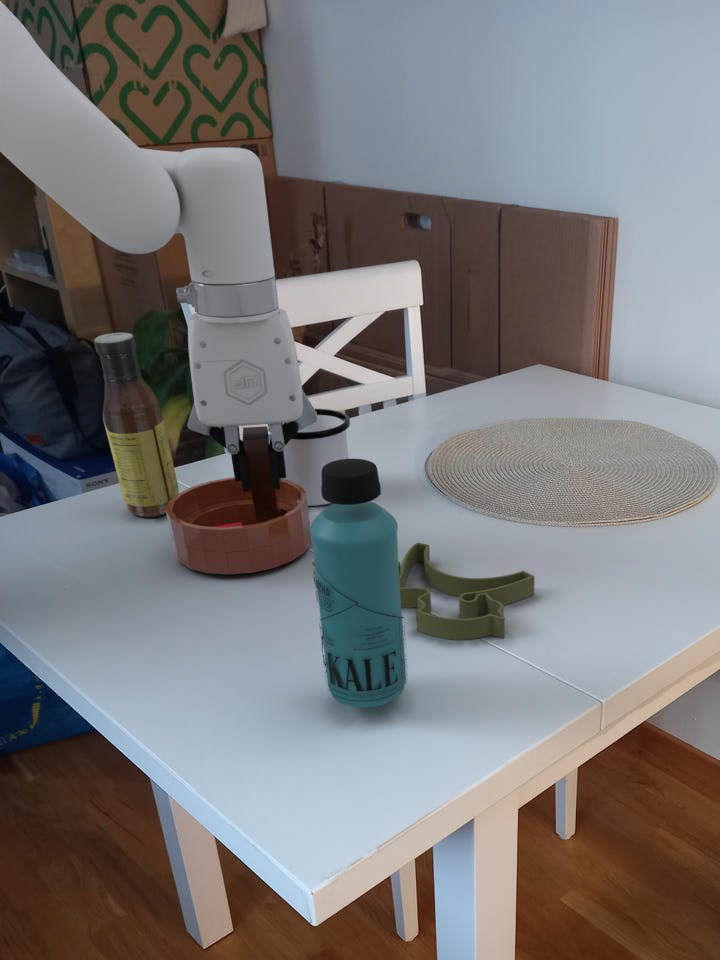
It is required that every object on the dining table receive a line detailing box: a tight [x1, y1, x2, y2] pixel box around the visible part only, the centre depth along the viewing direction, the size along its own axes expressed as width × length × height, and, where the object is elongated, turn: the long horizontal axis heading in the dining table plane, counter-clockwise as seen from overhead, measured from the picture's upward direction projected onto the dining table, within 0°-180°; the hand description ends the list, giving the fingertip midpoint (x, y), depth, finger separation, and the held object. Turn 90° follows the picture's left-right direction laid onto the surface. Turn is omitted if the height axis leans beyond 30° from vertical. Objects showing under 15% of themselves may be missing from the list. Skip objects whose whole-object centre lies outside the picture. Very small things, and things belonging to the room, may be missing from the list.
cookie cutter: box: [399, 542, 535, 641], centre depth 88 cm, size 18×12×2 cm, turn 56°
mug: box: [267, 408, 351, 507], centre depth 110 cm, size 12×10×9 cm
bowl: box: [165, 476, 313, 575], centre depth 97 cm, size 14×14×6 cm
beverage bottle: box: [310, 458, 408, 708], centre depth 69 cm, size 6×7×20 cm
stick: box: [242, 425, 280, 523], centre depth 96 cm, size 2×2×11 cm
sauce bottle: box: [93, 332, 180, 518], centre depth 103 cm, size 7×6×20 cm
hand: (261, 484), depth 95 cm, fingers closed on stick, 2 cm apart
